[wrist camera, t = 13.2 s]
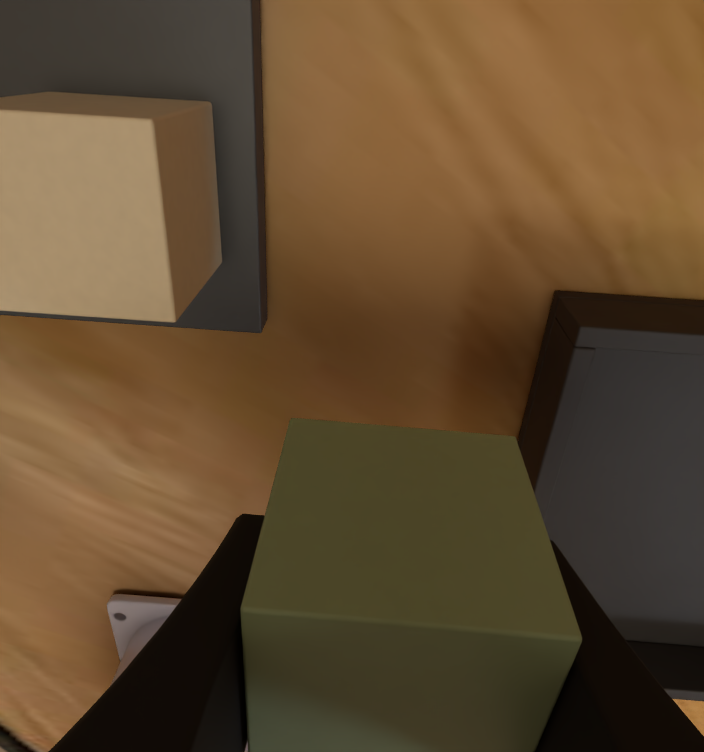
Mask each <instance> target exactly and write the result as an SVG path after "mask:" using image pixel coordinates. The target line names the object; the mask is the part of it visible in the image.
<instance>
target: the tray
mask: <svg viewBox="0 0 704 752" xmlns="http://www.w3.org/2000/svg"><path fill="white" fill-rule="evenodd" d="M518 446H519V449H520V452H521V455H522V458H523V461H524V464H525V467H526V470H527V473H528V476H529V479H530V482H531V485H532V488H533V491H534V494H535V497H536V500H537V503H538V506H539V509H540V512H541V515H542V518H543V521H544V524H545V527H546V530H547V533H548V536H549V539H550V540H553V541H554V543H555V544H556V545H557V546H558V548H559V549H560V551H561V552H562V553H563V555H564V556H565V558H566V559H567V560H568V562H569V563H570V565H571V566H572V568H573V569H574V570H575V572H576V573H577V575H578V576H579V577H580V579H581V580H582V582H583V583H584V584H585V586H586V587H587V589H588V590H589V591H590V593H591V594H592V596H593V597H594V598H595V600H596V601H597V602H598V604H599V605H600V607H601V608H602V609H603V611H604V612H605V613H606V615H607V616H608V618H609V619H610V620H611V622H612V623H613V624H614V626H615V627H616V628H617V630H618V631H619V632H620V634H621V635H622V636H623V637H624V639H625V640H626V641H627V643H628V644H629V645H630V647H631V648H632V649H633V650H634V652H635V653H636V654H637V656H638V657H639V658H640V659H641V661H642V662H643V663H644V665H645V666H646V667H647V668H648V670H649V671H650V672H651V674H652V675H653V676H654V677H655V679H656V680H657V681H658V682H659V684H660V685H661V686H662V687H663V688H664V690H665V691H666V692H667V693H668V695H669V696H670V697H671V698H672V699H683V700H695V701H704V301H698V300H683V299H669V298H654V297H640V296H625V295H611V294H596V293H582V292H567V291H555V293H554V297H553V301H552V305H551V309H550V313H549V317H548V321H547V325H546V329H545V333H544V337H543V341H542V345H541V350H540V354H539V358H538V362H537V366H536V370H535V374H534V378H533V382H532V386H531V390H530V394H529V398H528V402H527V406H526V410H525V414H524V418H523V422H522V426H521V431H520V435H519V439H518Z"/></svg>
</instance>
